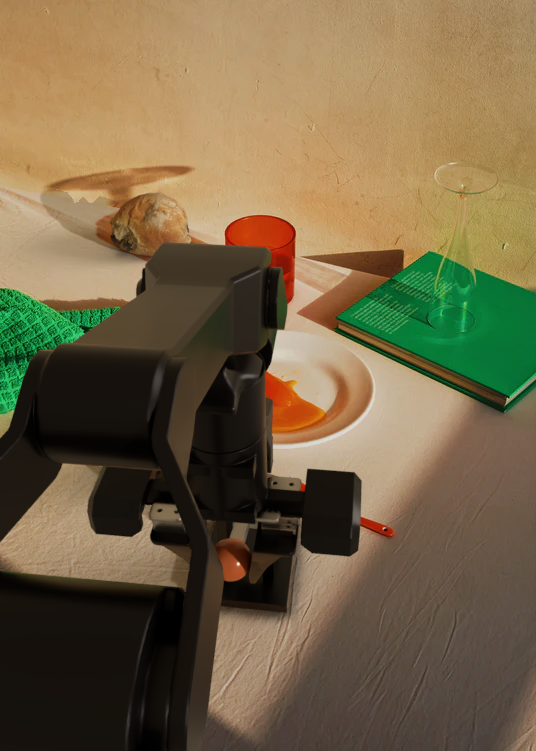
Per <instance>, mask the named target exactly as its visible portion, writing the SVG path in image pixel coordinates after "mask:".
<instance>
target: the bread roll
mask: <svg viewBox="0 0 536 751" xmlns="http://www.w3.org/2000/svg"><path fill="white" fill-rule="evenodd" d="M109 224H110V226H111V234H110V241H111V242H112V243H113V244H115V245H117V246H118V247H119V249H120V250H122V251H125V252H127V253H130V254H133V255H136V256H137V255H138V256H145V257H151V256H152V255H153V254H154V253H155V251H156V250H157V249H158V248H159V247H160V246H161V245H162V244H163V243H164V242H171V243H192V237H191V236H189V233H190V228H189V220H188V215H187V212H186V211H185V208H184V207H183V205H182V204H181V203H180V202H178V201H177V199H175V198H173V197H172V196H168V195H166V194H165V193H163V192H160V191H158V192H146V193H142V194H139V195H135V196H134V197H132V198H130V199H129V200H127V201H126V202H124V203H123V204H122V205H121V206H120V207H119V209H118V211H117V212H116V213H115V214H114V216H113V217H112V218H111V219H110V220H109Z"/></svg>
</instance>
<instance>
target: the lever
mask: <svg viewBox="0 0 536 751" xmlns="http://www.w3.org/2000/svg"><path fill="white" fill-rule="evenodd" d="M257 526H258V522H256V523H255V524H246V523H235V522H233V529H232V532H231V535H230V538H227V539H224V540H221V541H220V542H218V543H217V544H216V545H215V546H214V547H215V549H216V552H217V554H218V556H219V559H220V561H221V563H222V566H223V573H224V581H237V580H239V579H241V578H243V577H244V576H245V575H246V574H247V573H248V571H249V570H250V566H251V561H252V555H251V552H250V550H249V548H248V546H247V545H246V544H245V541H246V537H247V534H248V531H249V528H252V529H257Z"/></svg>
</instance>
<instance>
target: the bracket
mask: <svg viewBox="0 0 536 751" xmlns="http://www.w3.org/2000/svg"><path fill="white" fill-rule="evenodd" d="M232 529H233V522H223V521H214V524H213V527H212V532H211V535H210V537H211V540H212V542H213V544H214V546H215V545H216V544H217V543H218V542H220V541H221V540H224V539H227V538H230V535H231V532H232ZM256 532H257V529H252V528H249V531H248V534H247V537H246V541H245V544H246V545H247V546H248V548H249V550H250V552H251V555H253V549H254V543H255V537H256ZM294 557H295V554H294V555H293V556H291V557H280V558H279V559H277V560H276V561H275V562H273V563H272V564H271V565H270V566H268V567H267V568H266V570H265V571H264V572H263V574H262V575H261V576H260V578H259V579H258V580H257V582H256V583H250V580H249V572H250V570H249V571H248V573H247V574H246V575H245V576H244V577H243V578H241V579H239V580H237V581H224V584H223V592H222V600H221V607H224V608H233V609H234V608H235V609H243V610H244V609H245V610H253V611H254V610H255V611H264V612H265V611H266V612H275V613H283V614H284V613H288V607H289V599H290V591H291V589H290V588H291V583H292V574H293V566H294V565H293V564H294Z"/></svg>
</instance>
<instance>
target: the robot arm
mask: <svg viewBox="0 0 536 751" xmlns="http://www.w3.org/2000/svg"><path fill="white" fill-rule="evenodd" d="M272 257H273V255H272V250H270V248H269V247H267V246H254V245H253V246H252V245H249V246H248V245H235V244H234V245H231V244H213V243H212V244H210V243H209V244H208V243H192V242H190V243H171V242H164V243H163V244H162V245H161V246H160V247H159V248H158V249H157V250H156V251H155V253H154V254H153V255H152V256H150V257H149V259H148V260H147V261H146V263H145V264H144V267H143V268H142V270H141V278H140V279H139V280H138V281H137V283H136V288H135V296H136V297H134V298H133V299H131V300H130V301H129V302H126V304H124V305H123V306H121V307H120V308H119V309H118V310H116V311H115V312H113V313H112V314H111V315H109V316H108V317H106V318H105V319H103V320H102V321H100V322H99V323H98V324H96V325H95V326H94V327H92V328H91V329H90V330H88V331H87V332H85V333H84V334H82V335H81V336H79V337H78V338H76V339H75V340H74V341H72V342H62V343H59V344H58V345H57V346H56V347H55V348H54V349H49V348H48V349H42V350H41V349H40V350H37V352H36V353H35V354H34V355H33V356H32V358H31V359H30V360H29V362H28V365H27V367H26V370H25V372H24V375H23V377H22V381H21V384H20V387H19V392H18V395H17V398H16V402H15V405H14V409H13V413H12V417H11V420H10V424H9V426H8V428H7V430H6V431H5V432H4V433H3V434H2V436H1V437H0V543H1V542H2V541H3V540H4V539H5V537H7V535H8V534H9V533H10V532H11V531H12V530H13V528H14V527H15V526H16V525H17V524H18V523H19V521H20V520H21V519H22V518H23V517H24V516H25V515H26V514H27V512H28V511H29V510H30V509H31V508H32V506H34V504H35V503H36V502H37V501H38V500H39V498H41V496H42V495H43V494H44V493H45V492H46V491H47V489H48V488H49V487H50V486H51V484H53V483H54V482H55V480H56V479H57V477H58V475H59V473H60V472H61V470H62V467H63V464H66V465H78V466H88V467H89V466H90V467H101V468H100V471H99V474H98V476H97V478H96V481H95V483H94V485H93V488H92V490H91V493H90V495H89V497H88V500H87V507H86V509H87V510H86V513H87V517H88V521H89V525H90V528H91V530H92V531H93V533H94V534H96V535H102V536H103V535H104V536H112V537H126V538H133V537H134V536H136V535H137V534H139V533H140V532H142V530H143V527H144V518H143V514H144V510H145V507H146V506H150V508H149V509H150V510H149V512H148V519H149V520H150V521H151V522H152V528H151V530H150V532H149V533H150V534H149V539H150V542H151V543H152V545H154V546H161V547H164V548H165V549H167V550H169V551H170V552H172V554H174V555H176V556H177V557H179V558H180V559H182V560H183V561H184V562H186V563H187V564H188V566H189V567H188V572H187V579H186V587H185V589H184V588H183V587H181V586H174V585H173V586H171V585H161V584H160V585H159V584H151V583H139V582H136V583H135V582H129V581H128V582H127V581H116V580H105V579H96V578H95V579H94V578H83V577H73V576H72V577H71V576H60V575H50V574H40V573H39V574H37V573H28V572H27V573H25V572H16V571H5V570H0V751H201V749H202V744H203V741H204V740H203V738H204V735H205V730H206V724H207V717H208V716H207V715H208V710H209V704H210V696H211V687H212V680H213V672H214V664H215V656H216V648H217V640H218V633H219V632H218V631H219V623H220V617H221V616H220V615H221V609H222V608H221V607H222V606H221V600H222V592H223V584H224V573H223V566H222V563H221V561H220V559H219V556H218V554H217V552H216V549H215V547H214V544H213V542H212V540H211V535H210V534H211V533H210V529H209V524H208V521H212V522H213V521H214V522H215V521H223V522H235V523H246V524H255V523H256V522H258V526H257V532H256V537H255V543H254V549H253V555H252V561H251V566H250V572H249V580H250V583H256V582H257V580H258V579H259V578H260V576H261V575H262V574H263V572H264V571H265V570H266V568H267V567H268V566H270V565H271V564H272V563H273V562H275V561H276V560H277V559H279V558H280V557H291V556H293V555H294V556H295V555H296V553H297V548H298V539H299V531H300V541H299V542H300V546H302V547H303V548H304V549H305V550H306V551H308V552H309V553H311V554H314V555H315V554H316V555H327V556H337V557H348V558H349V557H352V556H353V555H354V554H356V553H358V552H359V548H360V536H361V523H362V522H361V519H362V516H361V515H362V488H363V485H362V484H363V480H362V479H361V478H360V477H359V476H358V474H357V473H356V472H355V471H347V470H346V471H345V470H332V469H321V468H320V469H318V468H307V469H306V475H305V485H304V490H301V489H302V479H301V478H299V477H291V476H277V475H273V476H269V477H268V474H272V470H273V466H274V436H273V418H274V415H273V414H274V400H273V399H272V398H270V397H268V396H267V391H266V390H267V389H266V388H267V386H266V385H267V384H266V380H267V379H266V373H267V371H268V369H269V368H270V366H271V364H272V360H273V356H274V349H275V345H276V339H277V335H278V330H279V331H285V329H286V324H287V323H286V322H287V317H288V306H289V305H288V298H287V291H286V284H285V277H284V276H285V275H284V271H283V267H282V266H270V265H271V264H272ZM161 471H162V473H163V476H164V478H165V480H158V479H154V478H155V477H156V476H157V475H159V474H160V473H161ZM299 529H300V530H299Z"/></svg>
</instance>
